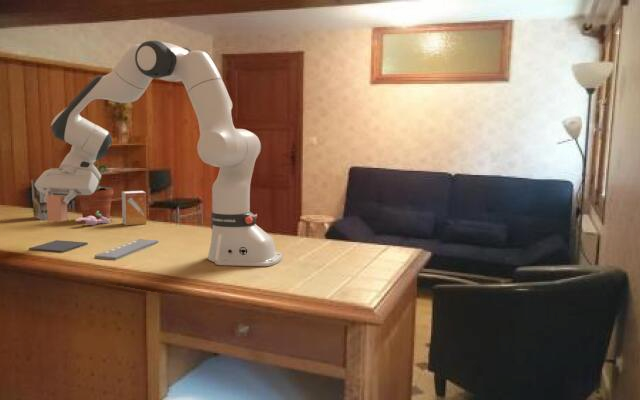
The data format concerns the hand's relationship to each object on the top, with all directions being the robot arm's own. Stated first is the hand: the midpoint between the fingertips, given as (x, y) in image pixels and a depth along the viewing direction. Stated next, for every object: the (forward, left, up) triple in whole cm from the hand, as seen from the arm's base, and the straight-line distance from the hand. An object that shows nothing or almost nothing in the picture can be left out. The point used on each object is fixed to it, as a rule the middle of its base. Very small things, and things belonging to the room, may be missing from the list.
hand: (55, 202), depth 163 cm
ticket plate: (-23, -4, -15) cm, 28 cm away
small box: (0, -44, -15) cm, 46 cm away
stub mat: (0, -1, -15) cm, 15 cm away
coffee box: (+42, -44, -15) cm, 62 cm away
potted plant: (+20, -46, -15) cm, 52 cm away
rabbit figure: (+13, -36, -15) cm, 41 cm away
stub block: (0, -1, -6) cm, 6 cm away
